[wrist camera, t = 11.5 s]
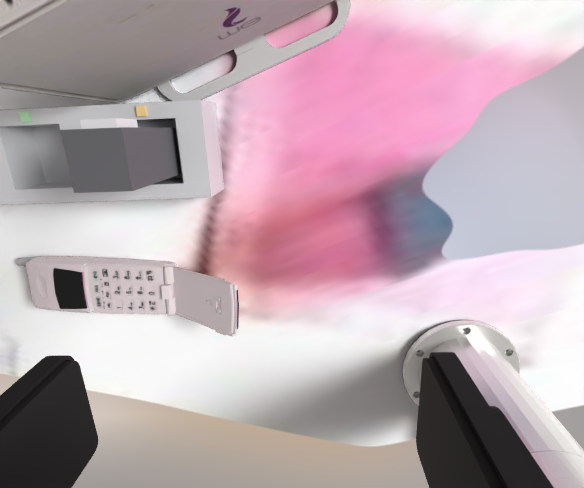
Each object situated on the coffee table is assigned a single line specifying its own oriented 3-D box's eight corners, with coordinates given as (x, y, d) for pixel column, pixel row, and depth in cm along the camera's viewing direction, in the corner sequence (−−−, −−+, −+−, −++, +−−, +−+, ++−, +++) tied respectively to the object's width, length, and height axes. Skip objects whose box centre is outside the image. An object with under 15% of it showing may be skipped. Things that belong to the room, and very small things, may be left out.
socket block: (224, 188, 37) (210, 197, 32) (34, 195, 38) (-7, 205, 33) (215, 103, 34) (199, 99, 29) (13, 113, 35) (-35, 111, 30)
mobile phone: (238, 338, 35) (-12, 325, 36) (247, 310, 41) (31, 299, 42) (237, 281, 34) (-25, 268, 34) (247, 260, 39) (22, 249, 40)
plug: (190, 171, 35) (133, 191, 24) (149, 172, 36) (73, 193, 24) (184, 120, 34) (120, 117, 23) (141, 122, 34) (56, 119, 23)
